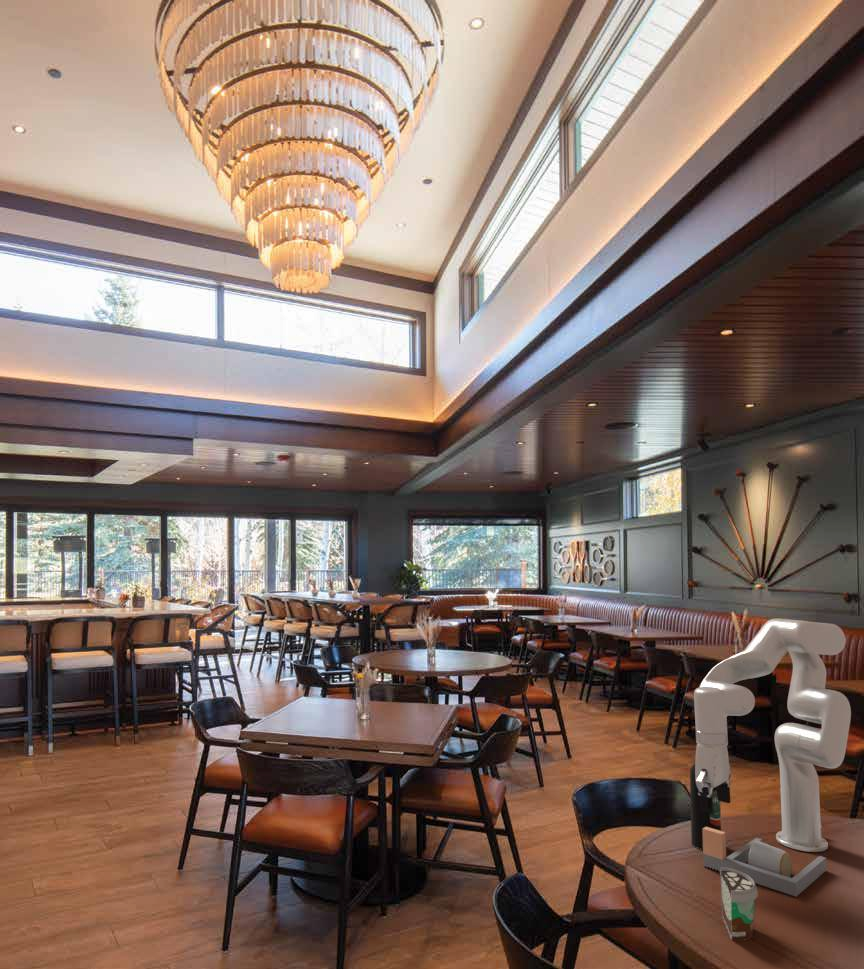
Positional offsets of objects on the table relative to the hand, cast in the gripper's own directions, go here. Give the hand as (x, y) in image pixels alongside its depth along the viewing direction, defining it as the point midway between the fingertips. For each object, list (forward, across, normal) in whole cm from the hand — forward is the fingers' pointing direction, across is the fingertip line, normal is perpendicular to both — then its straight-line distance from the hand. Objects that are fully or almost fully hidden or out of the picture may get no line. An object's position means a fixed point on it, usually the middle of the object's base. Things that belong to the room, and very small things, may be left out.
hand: (715, 807), depth 179 cm
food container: (+14, +26, +17) cm, 34 cm away
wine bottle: (+15, -11, -8) cm, 21 cm away
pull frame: (+15, -8, +8) cm, 19 cm away
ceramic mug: (+15, -5, +11) cm, 20 cm away
